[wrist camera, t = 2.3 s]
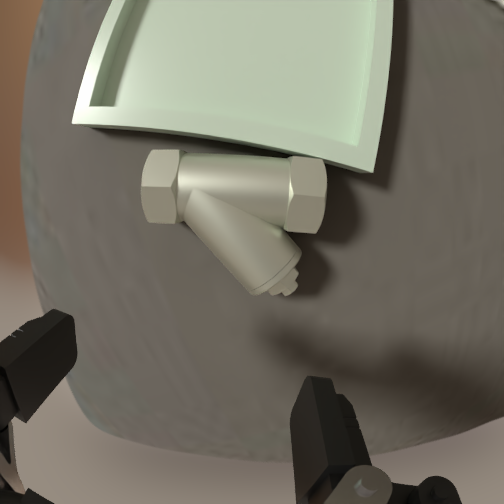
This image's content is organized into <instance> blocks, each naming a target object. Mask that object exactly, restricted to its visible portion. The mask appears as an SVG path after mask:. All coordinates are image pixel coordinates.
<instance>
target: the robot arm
mask: <svg viewBox="0 0 504 504" xmlns="http://www.w3.org/2000/svg"><path fill="white" fill-rule="evenodd" d="M76 359H77V344H76V335H75V323H74V318H73V317H72V316H71V315H69V314H66V313H64V312H61V311H59V310H56V309H52V310H50V311H49V312H48V313H46V314H45V315H44V316H42V317H39V318H36V319H33V320H31V321H28V322H27V323H25V324H24V325H22V326H21V327H20V328H19V329H18V330H16V331H15V332H13V333H12V334H11V336H10V335H9V336H8V337H7V338H6V339H4V340H3V341H1V342H0V504H54V503H52V502H51V501H49V500H47V499H45V498H44V497H42V496H40V495H39V494H37V493H36V492H34V491H32V490H31V489H29V488H28V489H27V491H26V492H25V489H24V487H23V484H22V482H21V480H20V477H19V475H18V472H17V466H16V459H15V449H14V438H13V426H12V422H11V420H12V419H13V417H14V416H15V417H17V418H18V419H20V420H21V421H23V422H25V423H27V421H28V420H29V419H30V418H31V416H32V415H33V414H34V413H35V412H36V410H37V409H38V408H39V406H40V405H41V404H42V403H43V402H44V401H45V399H46V398H47V397H48V396H49V394H50V393H51V392H52V391H53V390H54V389H55V387H56V386H57V385H58V384H59V383H60V381H61V380H62V379H63V378H64V377H65V376H66V375H67V373H68V372H69V371H70V370H71V369H72V368H73V366H74V365H75V362H76ZM290 431H291V443H292V454H293V467H294V479H295V493H296V504H462V503H461V500H460V498H459V495H458V492H457V490H456V488H455V486H454V485H453V483H452V482H451V481H449V480H448V479H446V478H444V477H441V476H432V477H428V478H426V479H425V480H424V481H423V482H422V483H421V484H419V485H418V486H413V485H404V484H398V483H393V482H391V480H390V478H389V477H388V475H387V474H386V473H385V472H383V471H382V470H381V469H379V468H376V467H374V466H372V464H371V461H370V457H369V454H368V451H367V448H366V445H365V442H364V439H363V436H362V433H361V430H360V429H359V424H358V421H357V419H356V415H355V412H354V409H353V406H352V404H351V403H350V402H349V401H348V400H347V399H346V397H345V396H344V395H343V394H336V392H335V389H334V386H333V382H332V380H331V379H330V378H323V377H315V376H307V377H306V379H305V381H304V383H303V385H302V388H301V390H300V393H299V395H298V397H297V400H296V402H295V404H294V406H293V409H292V412H291V417H290Z"/></svg>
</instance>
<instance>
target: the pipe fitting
mask: <svg viewBox="0 0 504 504" xmlns="http://www.w3.org/2000/svg"><path fill="white" fill-rule="evenodd" d="M326 198H327V174H326V168H325V165H324V162H323V160H322V159H316V158H308V157H299V156H291V157H288V158H276V157H265V156H251V155H234V154H211V153H187V152H185V151H182V150H152V151H151V152H150V154H149V156H148V158H147V160H146V163H145V166H144V169H143V174H142V180H141V201H142V207H143V211H144V214H145V216H146V218H147V221H148V223H167V224H176V223H180V222H183V221H185V222H186V224H187V225H188V226H189V227H190V228H191V229H192V230H193V231H194V233H195V234H196V235H197V236H198V237H199V238H200V239H201V240H202V241H203V243H204V244H205V245H206V246H207V247H208V248H209V249H210V250H211V251H212V253H213V254H214V255H215V256H216V257H217V258H218V259H219V260H220V261H221V262H222V263H223V265H224V266H225V267H226V268H227V269H228V270H229V271H230V272H231V273H232V274H233V275H234V277H235V278H236V279H237V280H238V281H239V282H240V283H241V284H242V285H243V286H244V287H245V288H246V289H247V291H248V292H249V293H250V294H251V295H259V294H262V293H264V292H266V291H268V292H269V293H270V294H271V295H276V294H279V293H281V292H282V293H283V294H284V296H287V295H289V294H291V293H292V292H294V291H295V290H296V288H297V287H298V284H297V282H296V281H295V280H296V278H297V276H298V274H299V272H298V271H297V269H296V268H295V266H296V264H297V263H298V261H299V259H300V257H301V254H302V251H301V249H300V248H299V247H298V246H297V245H296V243H295V242H294V241H293V240H292V239H291V238H290V236H289V235H288V234H287V233H286V232H285V230H286V231H289V232H302V233H314V234H316V233H317V231H318V229H319V228H320V226H321V223H322V220H323V216H324V212H325V206H326Z"/></svg>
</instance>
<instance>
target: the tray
mask: <svg viewBox="0 0 504 504" xmlns="http://www.w3.org/2000/svg"><path fill="white" fill-rule="evenodd" d="M392 26H393V0H113V1H112V3H111V5H110V7H109V9H108V12H107V14H106V16H105V19H104V21H103V23H102V26H101V28H100V31H99V33H98V36H97V38H96V41H95V44H94V47H93V49H92V52H91V55H90V58H89V61H88V64H87V67H86V71H85V74H84V77H83V81H82V84H81V88H80V91H79V95H78V99H77V103H76V107H75V111H74V116H73V120H72V124H75V125H80V126H85V127H89V128H108V129H123V130H136V131H147V132H157V133H166V134H175V135H183V136H190V137H197V138H204V139H211V140H217V141H223V142H229V143H235V144H241V145H246V146H251V147H256V148H261V149H266V150H271V151H276V152H280V153H285V154H289V155H294V156H299V157H308V158H316V159H322V160H323V162H324V163H326V164H330V165H334V166H337V167H341V168H344V169H348V170H351V171H355V172H358V173H373V170H374V165H375V160H376V155H377V150H378V144H379V139H380V133H381V127H382V121H383V114H384V107H385V100H386V92H387V84H388V76H389V66H390V55H391V42H392Z"/></svg>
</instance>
